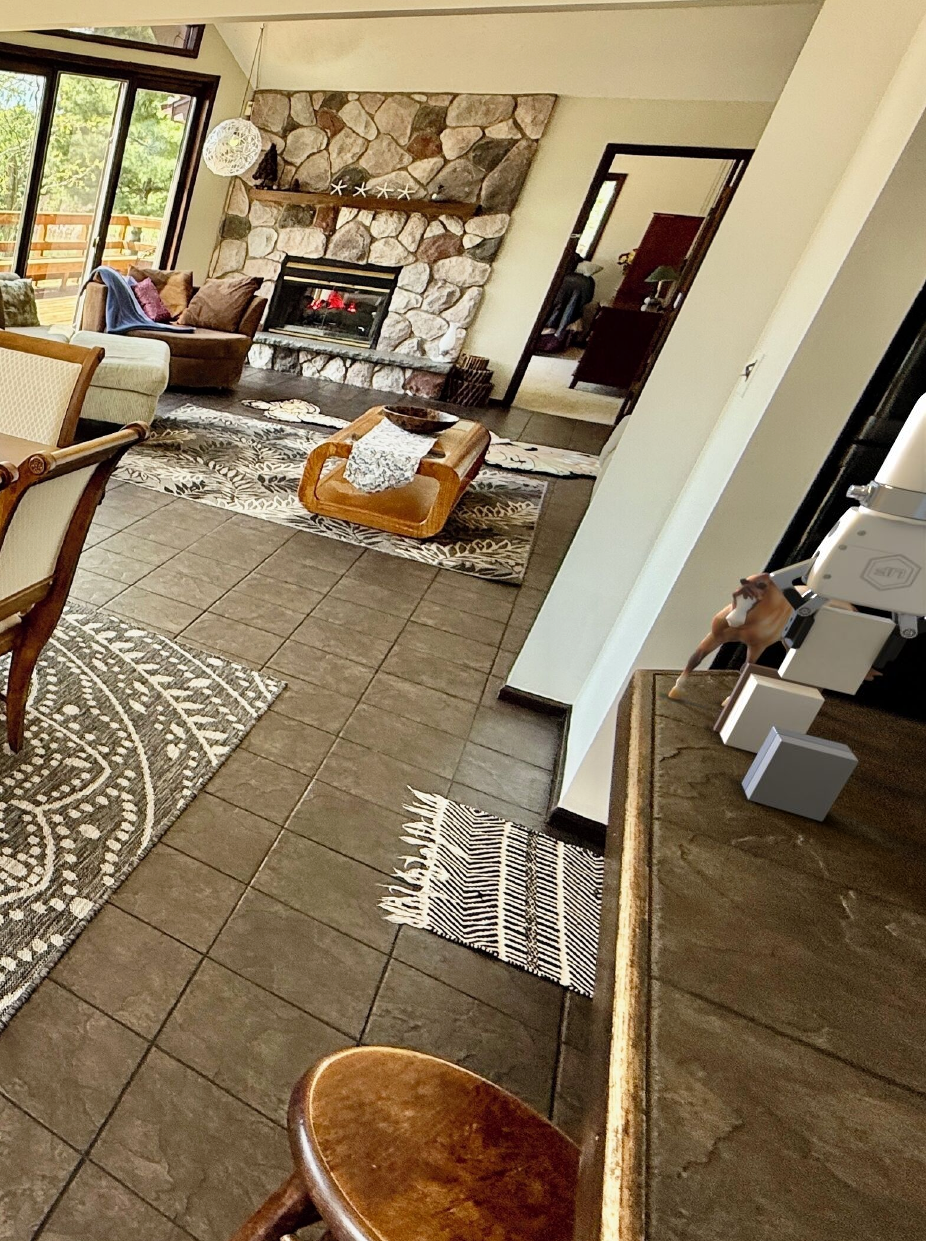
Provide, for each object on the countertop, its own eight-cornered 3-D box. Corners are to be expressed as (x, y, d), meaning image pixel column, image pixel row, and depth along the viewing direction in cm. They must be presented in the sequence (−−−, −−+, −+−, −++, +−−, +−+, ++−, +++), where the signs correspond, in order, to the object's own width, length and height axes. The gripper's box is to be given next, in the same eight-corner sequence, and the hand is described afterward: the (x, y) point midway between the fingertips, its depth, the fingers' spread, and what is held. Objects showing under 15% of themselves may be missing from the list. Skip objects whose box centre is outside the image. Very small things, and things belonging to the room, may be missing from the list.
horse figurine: (690, 718, 120) (761, 579, 113) (631, 691, 127) (694, 558, 120) (863, 710, 126) (942, 577, 118) (797, 684, 133) (868, 557, 125)
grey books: (812, 804, 102) (847, 745, 99) (822, 821, 99) (859, 761, 96) (741, 783, 105) (772, 725, 102) (748, 800, 102) (781, 740, 99)
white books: (786, 748, 114) (824, 680, 110) (795, 764, 111) (835, 694, 107) (712, 728, 118) (747, 662, 114) (719, 743, 114) (755, 675, 111)
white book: (849, 689, 102) (890, 618, 99) (854, 695, 101) (896, 624, 98) (777, 672, 106) (814, 603, 102) (780, 677, 104) (819, 608, 101)
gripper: (811, 494, 97) (734, 641, 104) (1058, 533, 87) (956, 691, 94) (795, 482, 103) (724, 622, 109) (1026, 517, 93) (932, 668, 100)
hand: (832, 653), depth 102 cm, fingers closed on white book, 6 cm apart
